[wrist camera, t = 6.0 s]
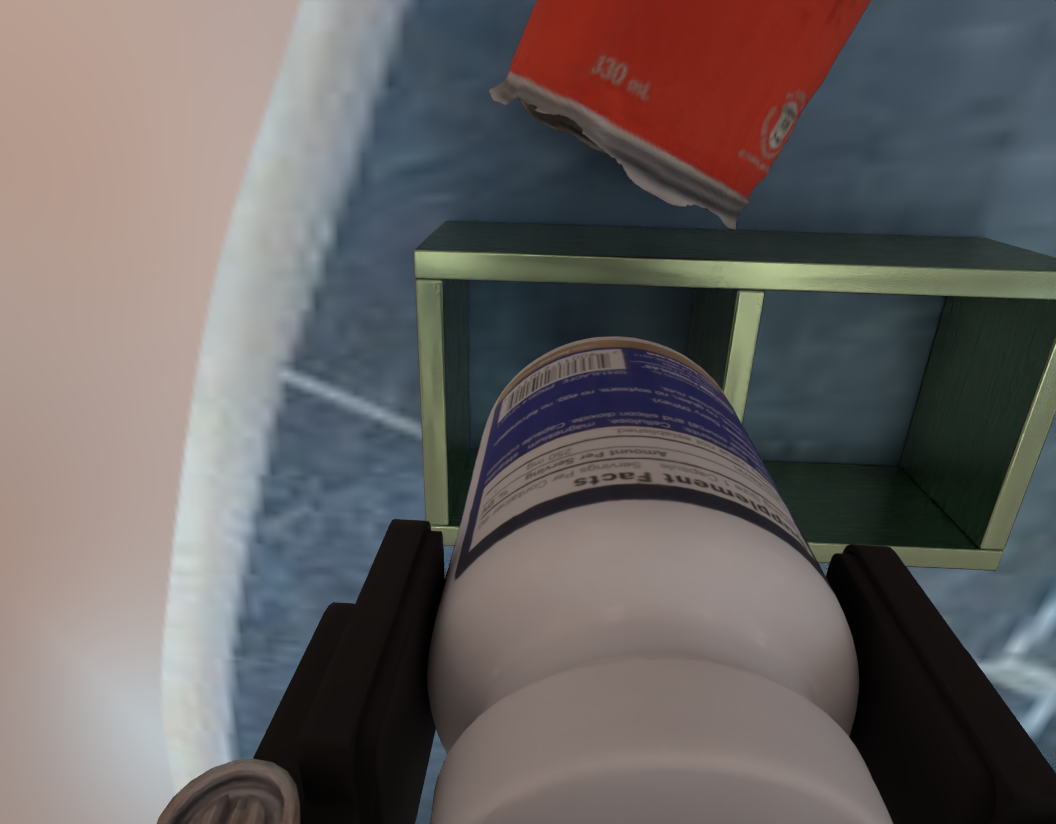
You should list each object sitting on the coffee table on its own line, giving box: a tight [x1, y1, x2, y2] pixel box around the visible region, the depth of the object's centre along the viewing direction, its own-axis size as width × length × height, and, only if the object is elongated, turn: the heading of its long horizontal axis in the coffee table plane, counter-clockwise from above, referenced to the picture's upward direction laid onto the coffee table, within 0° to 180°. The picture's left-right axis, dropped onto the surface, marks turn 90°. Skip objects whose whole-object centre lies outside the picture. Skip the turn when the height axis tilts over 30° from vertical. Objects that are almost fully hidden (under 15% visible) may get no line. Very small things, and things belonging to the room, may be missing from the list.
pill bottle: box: [427, 336, 893, 824], centre depth 11 cm, size 6×6×10 cm
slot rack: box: [414, 221, 1056, 571], centre depth 20 cm, size 9×16×5 cm, turn 89°
